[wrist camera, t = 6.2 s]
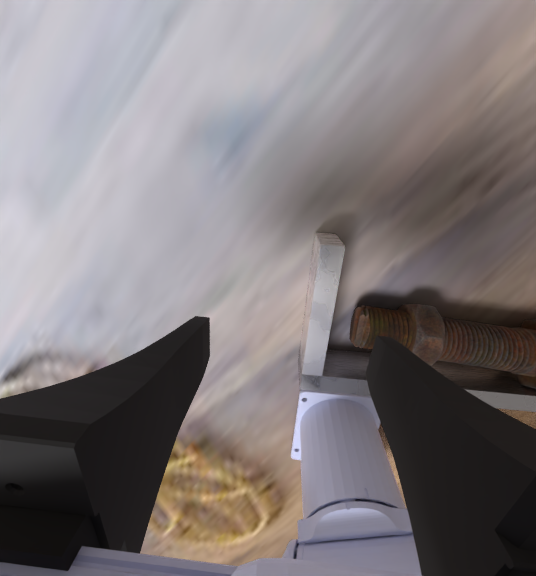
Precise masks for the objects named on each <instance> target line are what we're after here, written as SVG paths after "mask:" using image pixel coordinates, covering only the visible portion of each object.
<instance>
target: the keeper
mask: <svg viewBox="0 0 536 576" xmlns="http://www.w3.org/2000/svg"><path fill="white" fill-rule="evenodd" d="M345 247H346V246H345V245H344V244H343V243H342V241H341V240H340V239H339V237H338V236H337V235H336V234H329V233H316V232H315V237H314V244H313V252H312V259H311V267H310V275H309V282H308V290H307V297H306V305H305V312H304V320H303V327H302V335H301V343H300V350H299V358H298V367H299V384H300V389H301V390H311V391H322V392H332V393H343V394H353V395H363V396H371V395H370V391H369V387H368V383H367V378H366V370H367V366H368V363H369V359H370V356H371V353H366V352H355V351H344V350H333V349H327V346H328V340H329V335H330V329H331V324H332V318H333V313H334V307H335V302H336V296H337V291H338V285H339V280H340V274H341V269H342V263H343V258H344V252H345ZM431 367H432V368H434V369H435V370H437V371H438V372H439V373H441V374H442V375H444V376H445V377H446V378H448V379H449V380H451V381H452V382H454V383H455V384H457V385H458V386H460V387H461V388H463V389H464V390H466V391H467V392H469V393H471V394H472V395H474V396H476V397H477V398H479V399H481V400H482V401H484V402H486V403H487V404H489V405H491V406H492V407H494V408H499V409H510V410H520V411H531V412H536V389H535V388H531V387H528V386H524V385H520V384H519V382H518V379H517V377H516V374H514V373H511V372H508V371H503V370H495V369H490V368H485V367H480V366H471V365H465V364H459V363H452V362H446V361H438V360H437V361H436V362H435V363H434V364H433V365H432V366H431Z"/></svg>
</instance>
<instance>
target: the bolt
mask: <svg viewBox="0 0 536 576" xmlns="http://www.w3.org/2000/svg"><path fill="white" fill-rule="evenodd" d="M376 335H377V336H387V337H392V338H393V339H395V340H396V341H398V342H399V343H401V344H402V345H403V346H405V347H406V348H407V349H409V350H410V351H411V352H413V353H414V354H415V355H417V356H418V357H419V358H420V359H422V360H423V361H424V362H426V363H427V364H428V365H430V366H432V365H433V364H434V363H435V362H436V361H437V360H438V361H446V362H452V363H459V364H465V365H471V366H480V367H485V368H490V369H495V370H503V371H508V372H511V373H514V374H516V377H517V379H518V382H519V384H520V385H524V386H528V387H531V388H535V389H536V320H524V322H523V323H522V325H521V327H520V328H518V327H516V328H509V327H504V326H497V325H490V324H484V323H478V322H470V321H464V320H457V319H450V318H445V317H441V315H440V314H439V312H438V311H437V309H436V308H435V307H434V306H428V305H421V304H404V305H402V306H401V307H400V308H398V310H397V311H396V310H391V309H389V310H388V309H383V308H378V307H375V308H374V307H370V306H365V305H362V306H361V307H357V308H356V309H355V310H354V314H353V317H352V320H351V327H350V340H351V342H352V343H353V345H354V346H355V347H358V346H359V348H364V349H366V348H368V349H369V350H370V349H373V346H374V342H375V339H376Z"/></svg>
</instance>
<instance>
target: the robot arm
mask: <svg viewBox="0 0 536 576" xmlns="http://www.w3.org/2000/svg"><path fill="white" fill-rule="evenodd" d="M209 357H210V323H209V318H207V317H198V316H195V317H194V318H192V319H190V320H189V321H187V322H186V323H184V324H183V325H181V326H180V327H179V328H177V329H175V330H174V331H172V332H171V333H169V334H168V335H166V336H165V337H163V338H162V339H160V340H158V341H156V342H155V343H153V344H151V345H150V346H148V347H146V348H144V349H143V350H141V351H139V352H137V353H135V354H133V355H131V356H129V357H127V358H125V359H123V360H121V361H118V362H116V363H114V364H111V365H109V366H106V367H104V368H101V369H99V370H96V371H94V372H91V373H89V374H86V375H83V376H80V377H77V378H74V379H71V380H68V381H65V382H62V383H59V384H55V385H52V386H49V387H45V388H41V389H37V390H34V391H30V392H26V393H22V394H18V395H14V396H10V397H6V398H1V399H0V576H536V429H534V428H532V427H530V426H528V425H526V424H524V423H522V422H520V421H518V420H517V419H515V418H513V417H511V416H509V415H507V414H505V413H503V412H501V411H500V410H498V409H496V408H494V407H492V406H491V405H489V404H487V403H486V402H484V401H482V400H481V399H479V398H477V397H476V396H474V395H472V394H471V393H469V392H467V391H466V390H464V389H463V388H461V387H460V386H458V385H457V384H455V383H454V382H452V381H451V380H449V379H448V378H446V377H445V376H444V375H442V374H441V373H439V372H438V371H437V370H435V369H434V368H432V367H431V366H430V365H428V364H427V363H426V362H424V361H423V360H422V359H420V358H419V357H418V356H417V355H415V354H414V353H413V352H411V351H410V350H409V349H407V348H406V347H405V346H403V345H402V344H401V343H399V342H398V341H396V340H395V339H393V338H392V337H387V336H377V335H376V339H375V342H374V346H373V349H372V353H371V356H370V359H369V363H368V366H367V370H366V378H367V383H368V387H369V391H370V395H371V396H363V395H353V394H343V393H332V392H322V391H311V390H301V391H300V393H299V400H298V407H297V414H296V421H295V428H294V435H293V442H292V449H291V457H292V458H293V459H296V460H301V480H302V502H303V519H302V520H298V539H292V540H291V541H289V543H288V545H287V547H286V550H285V552H284V554H283V556H282V558H260V559H257V560H254V561H251V562H248V563H245V564H243V565H240V566H231V565H223V564H216V563H208V562H200V561H193V560H185V559H177V558H170V557H162V556H154V555H147V554H140V551H141V547H142V544H143V541H144V537H145V534H146V530H147V527H148V523H149V520H150V517H151V514H152V510H153V507H154V504H155V501H156V498H157V494H158V491H159V488H160V485H161V482H162V479H163V476H164V473H165V470H166V467H167V463H168V460H169V457H170V455H171V452H172V449H173V446H174V443H175V440H176V437H177V434H178V432H179V429H180V427H181V425H182V422H183V420H184V418H185V416H186V413H187V411H188V409H189V407H190V405H191V403H192V400H193V398H194V396H195V394H196V392H197V390H198V387H199V385H200V383H201V381H202V379H203V376H204V373H205V370H206V367H207V363H208V360H209ZM303 398H306V399H303ZM380 423H381V425H382V427H383V430H384V432H385V435H386V438H387V440H388V443H389V445H390V448H391V451H392V454H393V457H394V460H395V464H396V468H397V471H398V475H399V479H400V482H401V486H402V490H403V494H404V498H405V502H406V506H407V508H405V505H404V502H403V499H402V496H401V494H400V491H399V488H398V485H397V482H396V479H395V477H394V474H393V471H392V468H391V465H390V462H389V459H388V457H387V454H386V451H385V448H384V445H383V442H382V440H381V437H380V434H379V431H378V429H379V426H380Z"/></svg>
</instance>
